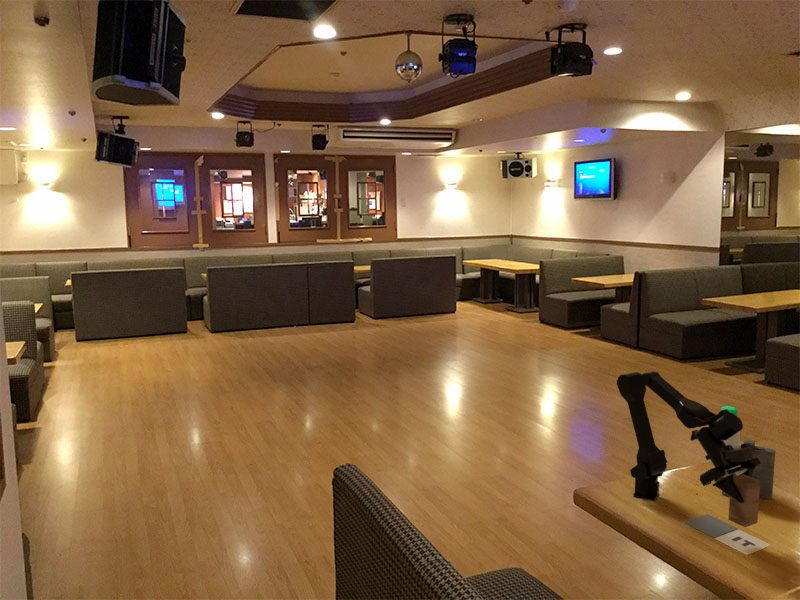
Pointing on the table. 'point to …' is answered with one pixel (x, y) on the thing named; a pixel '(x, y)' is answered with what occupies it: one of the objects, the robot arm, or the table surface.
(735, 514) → the walnut pillar
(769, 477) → the flask
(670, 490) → the table surface
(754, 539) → the tile
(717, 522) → the mat
